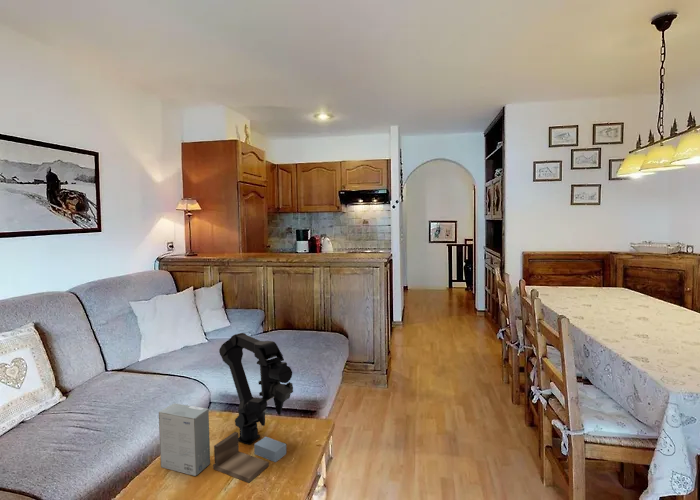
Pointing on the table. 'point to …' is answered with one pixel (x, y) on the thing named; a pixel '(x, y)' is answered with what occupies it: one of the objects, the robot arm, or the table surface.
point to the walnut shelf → (236, 460)
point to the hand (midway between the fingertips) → (271, 420)
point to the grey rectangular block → (270, 449)
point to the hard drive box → (184, 438)
